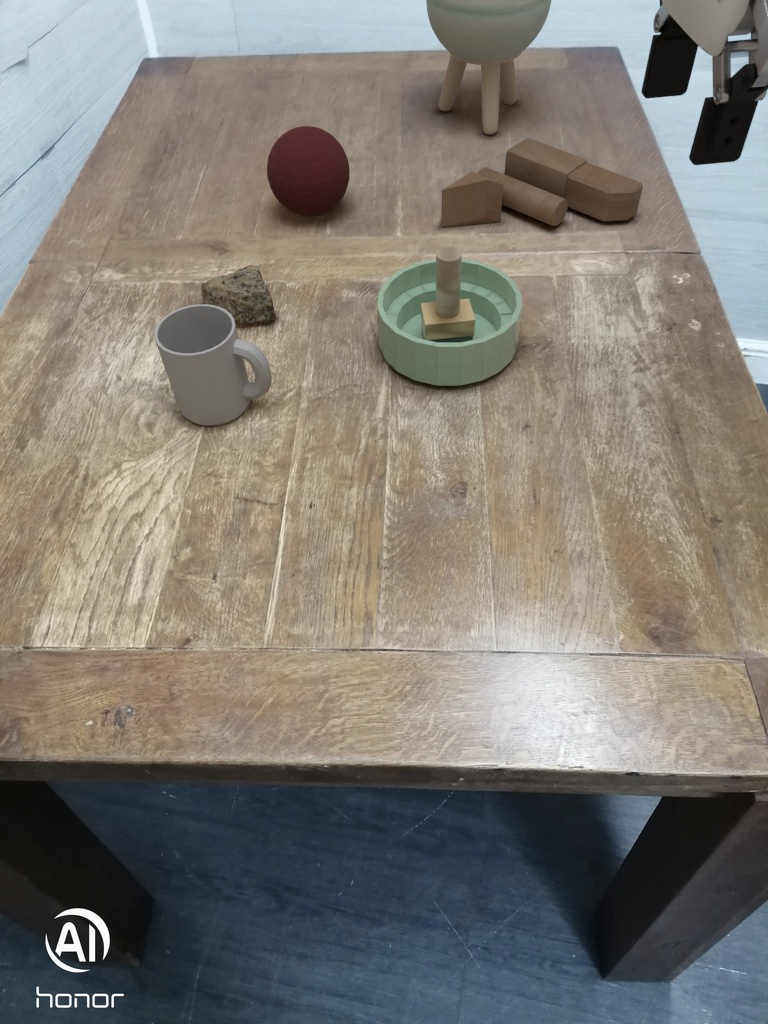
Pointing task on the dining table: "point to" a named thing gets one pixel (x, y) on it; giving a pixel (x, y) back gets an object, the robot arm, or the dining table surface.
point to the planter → (485, 46)
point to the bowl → (449, 361)
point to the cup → (210, 364)
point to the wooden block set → (540, 189)
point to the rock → (241, 295)
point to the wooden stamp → (448, 303)
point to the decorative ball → (308, 171)
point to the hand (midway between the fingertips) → (686, 126)
